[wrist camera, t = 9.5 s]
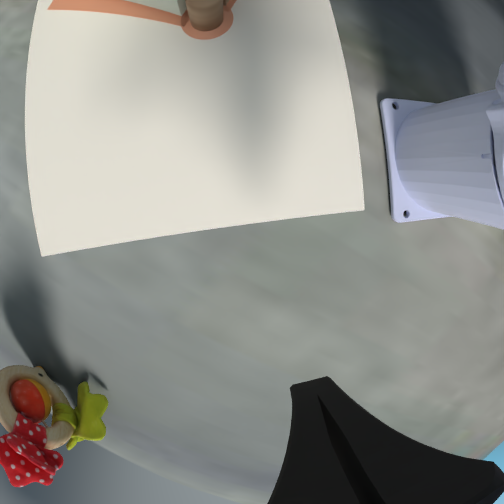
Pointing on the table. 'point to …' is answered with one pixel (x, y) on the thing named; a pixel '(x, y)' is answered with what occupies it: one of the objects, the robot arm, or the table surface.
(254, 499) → the table surface
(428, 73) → the table surface
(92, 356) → the table surface
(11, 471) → the bird rattle
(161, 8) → the fence gate
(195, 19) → the bar
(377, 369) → the table surface
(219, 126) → the board
